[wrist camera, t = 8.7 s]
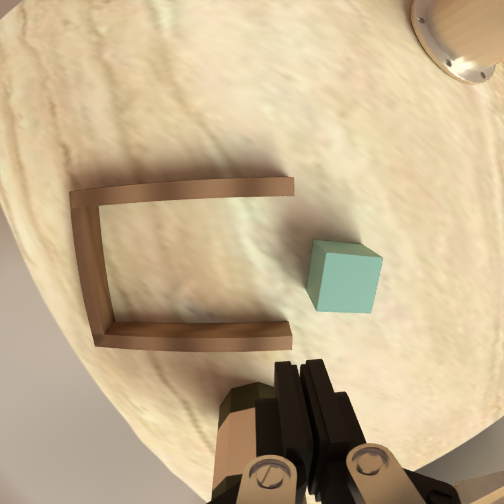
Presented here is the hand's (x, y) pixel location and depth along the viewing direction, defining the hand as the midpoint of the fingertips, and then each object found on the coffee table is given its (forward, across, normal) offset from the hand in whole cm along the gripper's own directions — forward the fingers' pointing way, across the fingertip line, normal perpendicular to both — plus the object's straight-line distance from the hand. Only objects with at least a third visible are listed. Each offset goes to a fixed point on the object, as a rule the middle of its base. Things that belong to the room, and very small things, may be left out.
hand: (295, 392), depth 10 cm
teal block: (+19, -6, +2) cm, 20 cm away
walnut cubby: (+19, +7, +1) cm, 20 cm away
